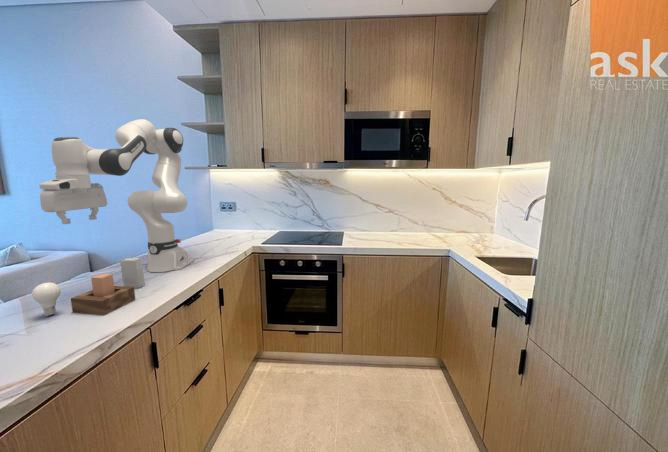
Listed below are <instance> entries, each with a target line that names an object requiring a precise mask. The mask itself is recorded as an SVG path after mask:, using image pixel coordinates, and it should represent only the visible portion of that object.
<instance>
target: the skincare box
mask: <svg viewBox="0 0 668 452" xmlns="http://www.w3.org/2000/svg"><path fill="white" fill-rule="evenodd" d="M119 263H120V264H119V265H120V267H121V269H120V270H121V275H122V281H123V286H127V287H134V289H140V288H142V287H144V286H145V285H146V282H145V275H144V267H143V260H142V257H125V258H124V259H122V260H119Z"/></svg>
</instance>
